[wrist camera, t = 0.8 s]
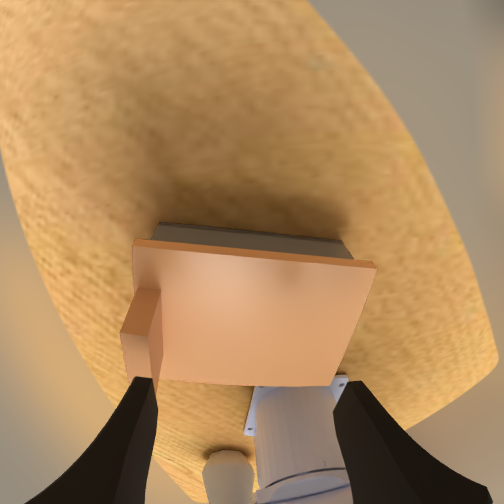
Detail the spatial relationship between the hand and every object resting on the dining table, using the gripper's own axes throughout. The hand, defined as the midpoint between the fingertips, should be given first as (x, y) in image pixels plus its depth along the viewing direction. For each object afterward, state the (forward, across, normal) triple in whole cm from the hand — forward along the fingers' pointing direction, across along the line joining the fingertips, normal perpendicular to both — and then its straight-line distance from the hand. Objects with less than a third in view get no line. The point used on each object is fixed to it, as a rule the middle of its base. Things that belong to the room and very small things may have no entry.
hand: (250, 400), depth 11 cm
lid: (+6, 0, +2) cm, 7 cm away
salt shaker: (+10, -1, +26) cm, 28 cm away
